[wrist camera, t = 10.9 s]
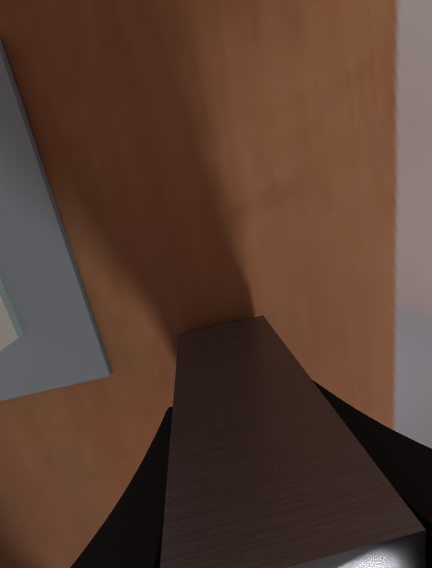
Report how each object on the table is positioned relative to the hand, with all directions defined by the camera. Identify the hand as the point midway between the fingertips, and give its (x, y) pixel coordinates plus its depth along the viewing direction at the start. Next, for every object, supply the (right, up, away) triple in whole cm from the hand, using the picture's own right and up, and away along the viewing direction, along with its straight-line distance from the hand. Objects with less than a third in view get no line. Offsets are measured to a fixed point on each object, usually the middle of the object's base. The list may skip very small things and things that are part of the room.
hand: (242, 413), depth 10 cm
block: (0, +1, +3) cm, 3 cm away
